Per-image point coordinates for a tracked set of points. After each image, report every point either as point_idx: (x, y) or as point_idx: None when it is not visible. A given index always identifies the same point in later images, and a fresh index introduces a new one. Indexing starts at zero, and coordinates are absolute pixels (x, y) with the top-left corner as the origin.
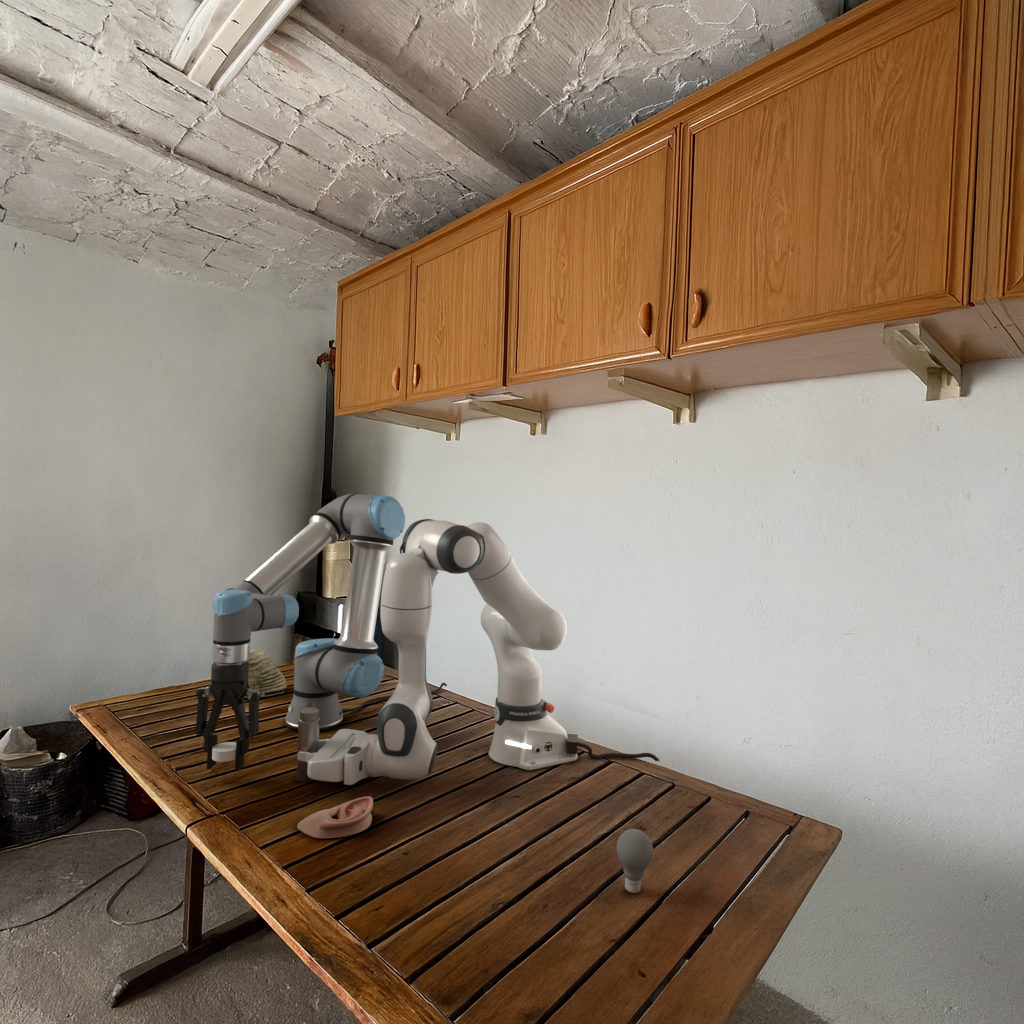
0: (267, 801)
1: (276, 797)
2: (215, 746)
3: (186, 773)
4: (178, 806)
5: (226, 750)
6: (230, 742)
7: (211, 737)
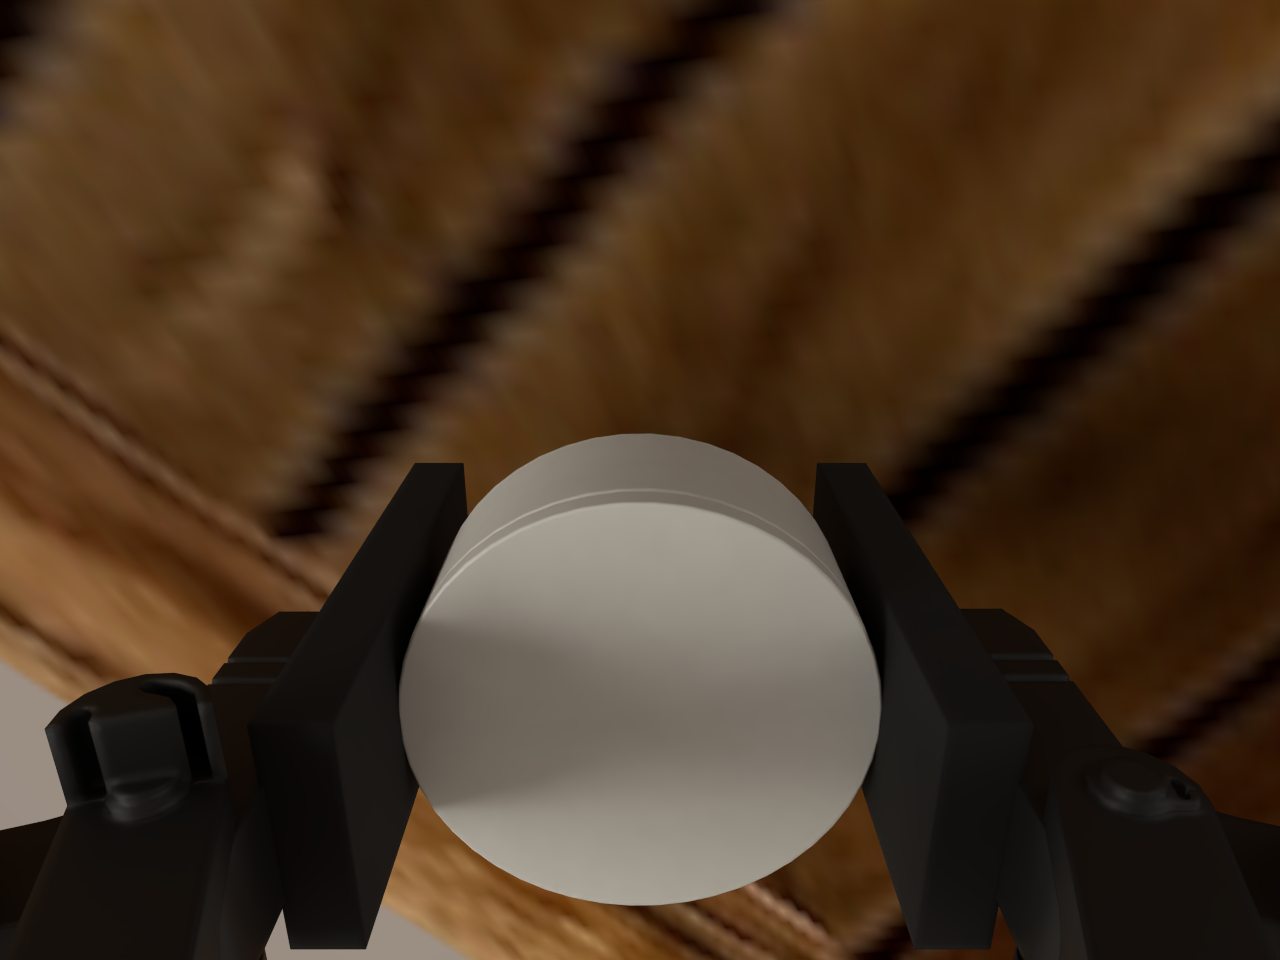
0: None
1: (1273, 718)
2: (442, 740)
3: (79, 308)
4: (479, 911)
5: (723, 866)
6: (622, 534)
7: (299, 869)
